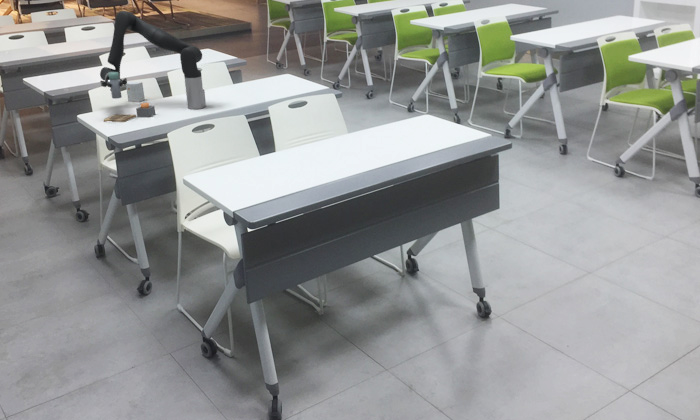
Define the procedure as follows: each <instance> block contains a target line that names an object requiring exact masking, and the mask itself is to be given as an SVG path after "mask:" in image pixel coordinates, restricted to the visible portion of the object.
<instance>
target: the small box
mask: <svg viewBox="0 0 700 420" xmlns="http://www.w3.org/2000/svg"><path fill="white" fill-rule="evenodd" d="M125 88H126V95H127V100H128V102H139V103H140V102H142V101H144V100H146V98H145V91H144V86H143V82H142V81H139V82H138V81H130V82H127V84H126V85H125Z"/></svg>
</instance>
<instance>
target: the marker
mask: <svg viewBox="0 0 700 420" xmlns="http://www.w3.org/2000/svg"><path fill="white" fill-rule="evenodd" d="M108 75H109V80H110V84H111V88H110V93H111V98H112V99H121V98H122V91H121V89H122V88H121V87H120V82H119V74H118V72H110V73H108Z"/></svg>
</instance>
